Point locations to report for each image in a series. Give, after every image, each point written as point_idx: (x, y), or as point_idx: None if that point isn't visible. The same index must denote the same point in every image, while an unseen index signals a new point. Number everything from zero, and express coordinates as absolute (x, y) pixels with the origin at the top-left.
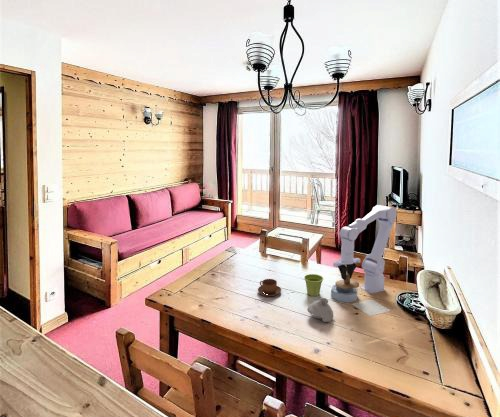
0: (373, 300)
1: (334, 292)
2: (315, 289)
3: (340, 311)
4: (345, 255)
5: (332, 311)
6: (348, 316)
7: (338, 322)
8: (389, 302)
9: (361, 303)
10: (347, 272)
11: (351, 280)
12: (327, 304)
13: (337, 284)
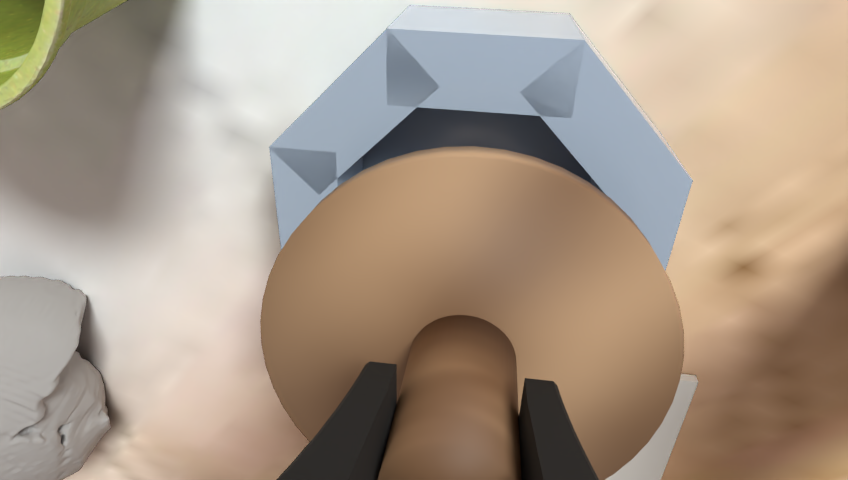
0: (684, 404)
1: (283, 219)
2: (15, 17)
3: (239, 371)
4: None
5: (70, 471)
6: (260, 441)
7: (145, 453)
8: (796, 472)
9: None
10: (534, 473)
11: (656, 302)
12: None
13: (278, 311)
